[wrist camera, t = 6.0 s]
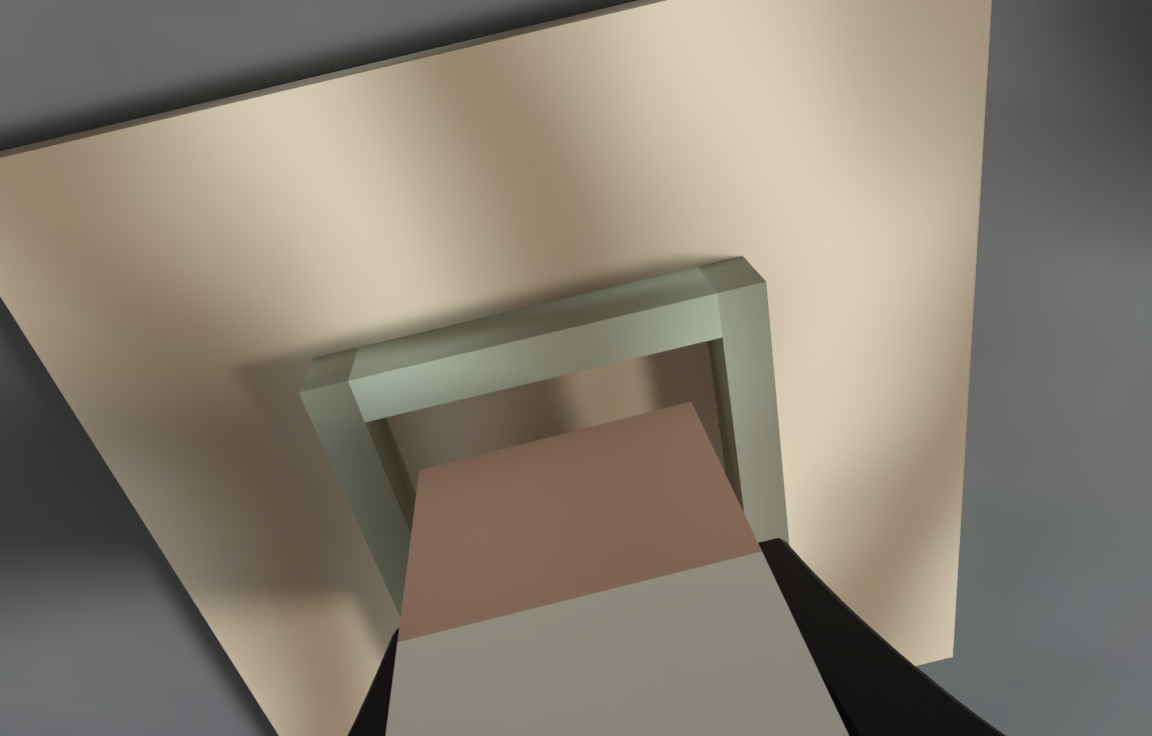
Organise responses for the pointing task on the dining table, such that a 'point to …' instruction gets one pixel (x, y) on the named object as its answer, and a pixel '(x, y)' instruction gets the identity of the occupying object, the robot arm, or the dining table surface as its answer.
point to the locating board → (524, 301)
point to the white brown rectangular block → (597, 597)
